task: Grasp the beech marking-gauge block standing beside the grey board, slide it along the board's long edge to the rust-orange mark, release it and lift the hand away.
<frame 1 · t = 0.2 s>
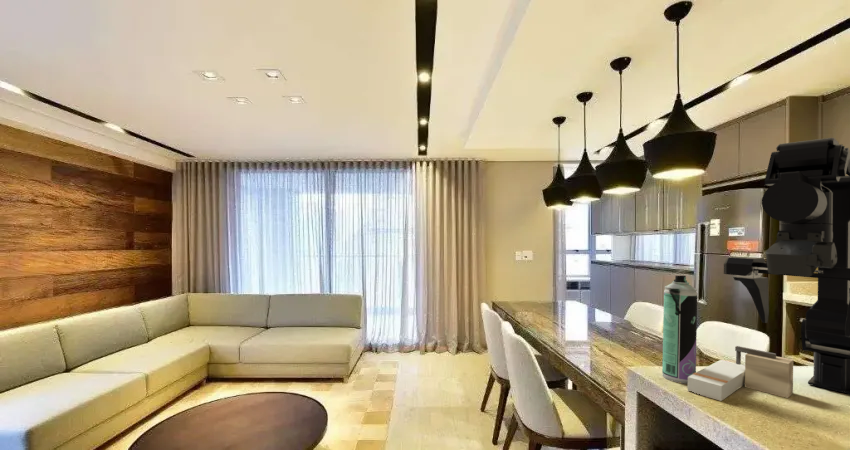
hand: (803, 329, 59), 14 cm above the counter, fingers open, 9 cm apart
spray can: (678, 379, 77), on the counter
gauge: (768, 390, 73), on the counter
board: (720, 384, 74), on the counter
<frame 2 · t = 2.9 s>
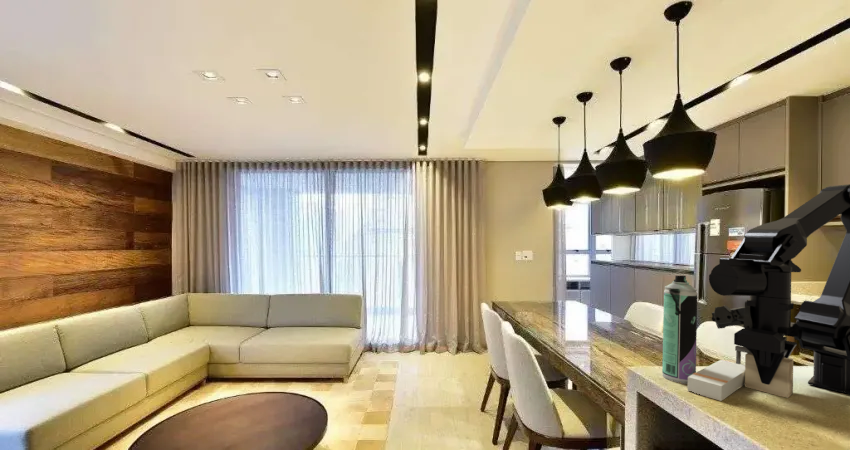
hand: (768, 381, 73), 2 cm above the counter, fingers closed on gauge, 4 cm apart
gauge: (768, 389, 73), on the counter, touching gripper
everything else where it was.
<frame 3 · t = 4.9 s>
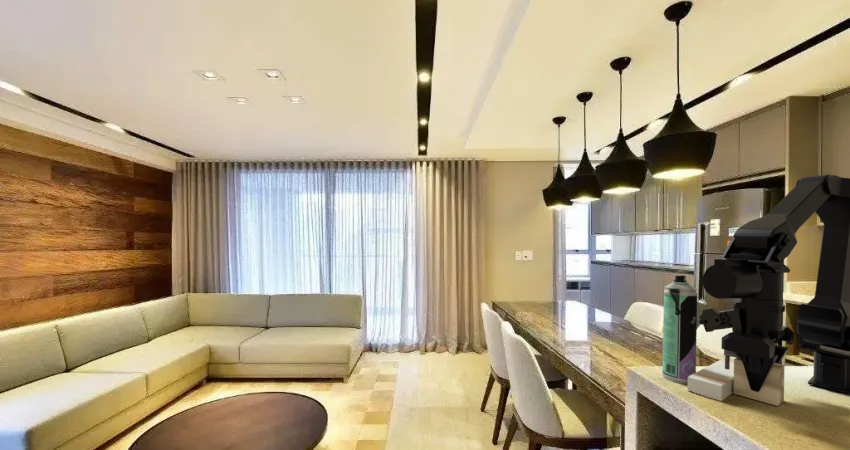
hand: (758, 388, 69), 2 cm above the counter, fingers closed on gauge, 4 cm apart
gauge: (758, 396, 69), on the counter, touching gripper
everything else where it was.
when the fingers open (1 cm above the counter, at t = 7.0 s): gauge stays where it is, on the counter.
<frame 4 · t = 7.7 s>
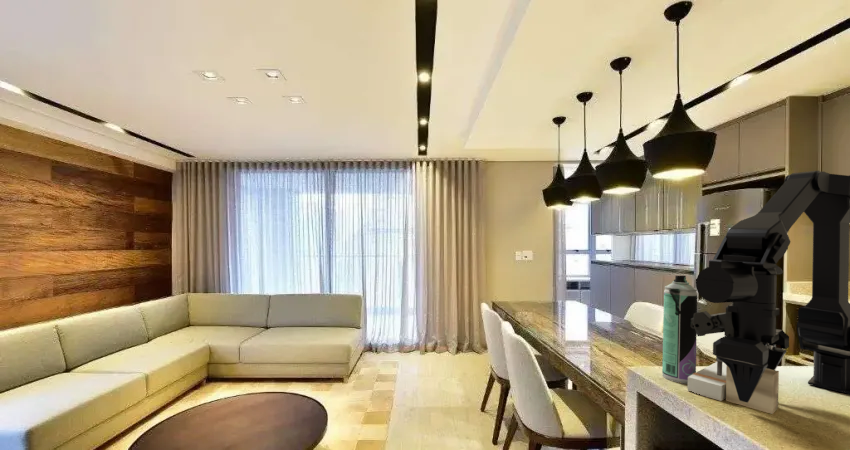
hand: (751, 394, 66), 2 cm above the counter, fingers open, 9 cm apart
gauge: (751, 404, 66), on the counter
everything else where it was.
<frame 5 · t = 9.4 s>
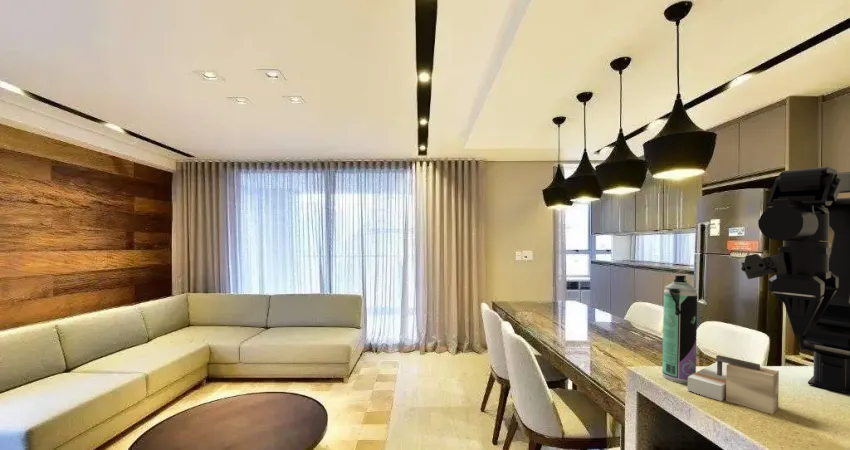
hand: (804, 331, 68), 12 cm above the counter, fingers open, 9 cm apart
nothing on the counter moved.
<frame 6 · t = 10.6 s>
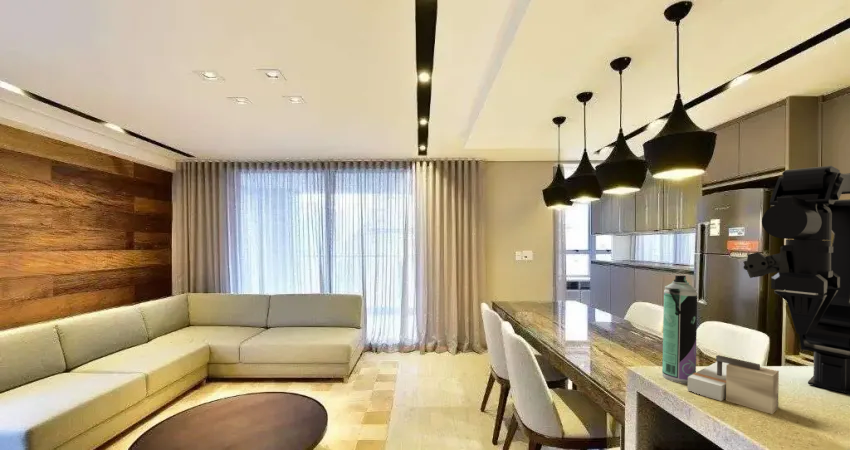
hand: (806, 330, 68), 12 cm above the counter, fingers open, 9 cm apart
nothing on the counter moved.
at the end: gauge 0.4 cm from the target spot, on the counter; gauge tilted 0°; the gripper is holding nothing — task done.
